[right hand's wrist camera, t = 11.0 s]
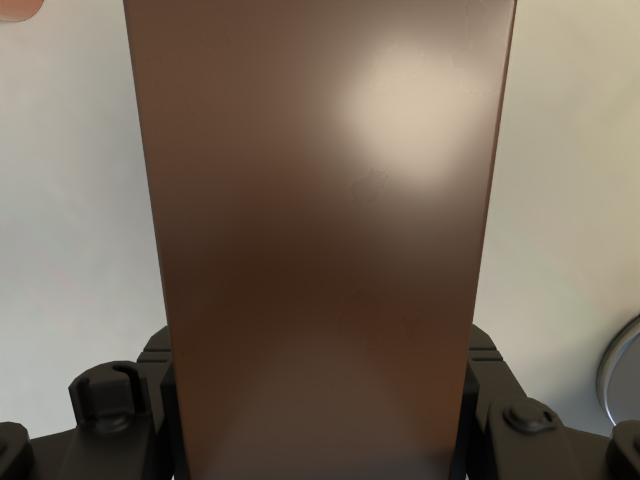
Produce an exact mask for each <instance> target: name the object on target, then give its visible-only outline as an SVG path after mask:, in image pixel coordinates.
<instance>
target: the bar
mask: <svg viewBox="0 0 640 480" xmlns="http://www.w3.org/2000/svg"><path fill="white" fill-rule="evenodd" d="M123 5H124V12H125V19H126V26H127V34H128V41H129V48H130V56H131V63H132V70H133V77H134V85H135V92H136V99H137V107H138V114H139V121H140V128H141V136H142V143H143V150H144V158H145V165H146V172H147V179H148V187H149V194H150V201H151V208H152V216H153V223H154V230H155V238H156V245H157V252H158V259H159V267H160V274H161V281H162V289H163V296H164V303H165V310H166V318H167V325H168V332H169V339H170V347H171V354H172V361H173V369H174V376H175V383H176V390H177V398H178V405H179V412H180V420H181V427H182V434H183V441H184V449H185V456H186V463H187V471H188V478H189V480H451V473H452V466H453V459H454V452H455V445H456V437H457V430H458V423H459V416H460V409H461V401H462V394H463V387H464V380H465V373H466V365H467V358H468V351H469V344H470V337H471V329H472V322H473V315H474V308H475V301H476V294H477V286H478V279H479V272H480V265H481V258H482V250H483V243H484V236H485V229H486V222H487V214H488V207H489V200H490V193H491V186H492V178H493V171H494V164H495V157H496V150H497V143H498V135H499V128H500V121H501V114H502V107H503V99H504V92H505V85H506V78H507V71H508V63H509V56H510V49H511V42H512V35H513V27H514V20H515V13H516V6H517V0H123Z"/></svg>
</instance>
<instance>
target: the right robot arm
mask: <svg viewBox="0 0 640 480" xmlns="http://www.w3.org/2000/svg"><path fill="white" fill-rule="evenodd" d="M68 389H69V394H70V398H71V402H72V406H73V410H74V414H75V418H76V422H77V426H76V428H74V429H71V430H68V431H64V432H61V433H56V434H52V435H48V436H43V437H39V438H35V439H30V438H29V434H28V431H27V429H26V428H25V427H24V426H22V425H21V424H19V423H14V422H1V423H0V480H172V477H173V475H174V480H189V478H188V471H187V463H186V456H185V449H184V441H183V434H182V427H181V420H180V412H179V405H178V398H177V390H176V383H175V376H174V369H173V361H172V354H171V347H170V339H169V332H168V326H165V327H164V328H162V329H161V330H160V331H158V332H157V333H156V334H154V335H153V336H152V337H151V338H150V340H149V341H148V343H147V344H146V346H145V348H144V349H143V352H141V354H140V356H139V357H138V359H137V363H135V362H131V361H112V362H108V363H104V364H100V365H97V366H95V367H93V368H91V369H88V370H86V371H85V372H83V373H82V374H81V375H79V376H78V377H77V378H75V379H74V381H73V382H72V383H71V385H70V386H69V387H68ZM597 394H598V399H599V402H600V405H601V407H602V409H603V411H604V412H605V414H606V415H607V416H608V418H609V419H610V420H611V421H612V422H613V424H614V425H615V426H614V427H613V430H612V433H611V437H610V438H609V437H605V436H600V435H596V434H592V433H587V432H583V431H579V430H575V429H572V428H568V427H565V426H564V425H563V423H562V422H561V420H560V418H559V417H558V415H557V414H556V413H555V412H554V411H552V410H551V409H550V408H549V407H548V406H546V405H545V404H543V403H541V402H539V401H537V400H535V399H533V398H529V397H527V395H526V394H525V392H524V391H523V389H522V387H521V386H520V384H519V383H518V381H517V380H516V378H515V376H514V375H513V373H512V372H511V370H510V368H509V367H508V365H507V364H506V362H505V361H503V357H502V356H501V354H500V353H499V351H498V350H497V348H496V346H495V345H494V343H493V341H492V340H491V338H490V337H489V335H488V334H486V333H485V332H484V331H482V330H481V329H480V328H478V327H477V326H475V325H474V324H472V329H471V337H470V344H469V351H468V358H467V365H466V373H465V380H464V387H463V394H462V401H461V409H460V416H459V423H458V430H457V437H456V445H455V452H454V459H453V466H452V473H451V480H465V479H466V473H467V475H468V478H469V480H640V317H639V318H638V319H637V320H635V321H634V322H633V323H631V324H630V325H629V326H628V327H627V328H626V329H625V330H624V331H623V332H622V333H621V334H620V335H619V336H618V337H617V338H616V340H615V341H614V342H613V343H612V345H611V346H610V348H609V349H608V351H607V353H606V354H605V356H604V358H603V361H602V363H601V366H600V369H599V372H598V377H597Z"/></svg>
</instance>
